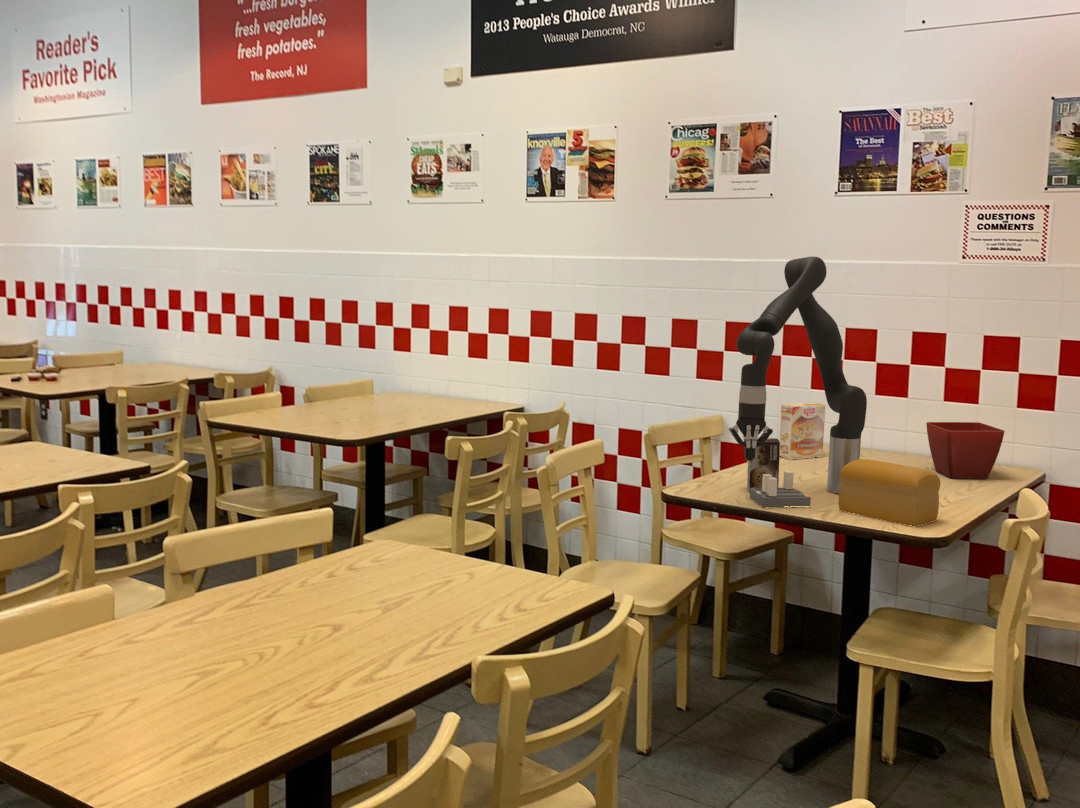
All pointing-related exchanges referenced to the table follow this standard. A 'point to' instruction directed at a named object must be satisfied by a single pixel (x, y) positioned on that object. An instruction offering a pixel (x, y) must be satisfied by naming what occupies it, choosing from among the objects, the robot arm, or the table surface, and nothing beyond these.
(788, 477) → the tab
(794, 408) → the coffeecake box
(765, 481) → the tab
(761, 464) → the coffee box
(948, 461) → the plant pot
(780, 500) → the switch panel
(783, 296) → the robot arm
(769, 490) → the tab
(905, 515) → the bread
